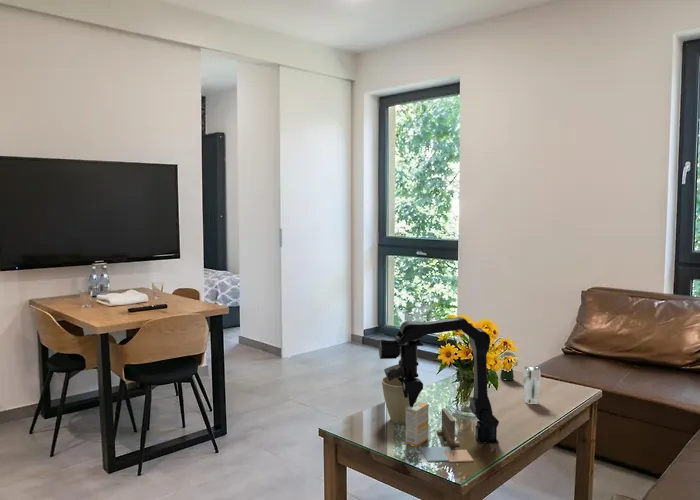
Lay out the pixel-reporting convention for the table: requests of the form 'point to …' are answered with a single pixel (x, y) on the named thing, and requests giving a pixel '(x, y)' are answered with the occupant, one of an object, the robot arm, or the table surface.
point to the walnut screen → (448, 429)
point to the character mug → (509, 374)
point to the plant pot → (395, 400)
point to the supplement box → (417, 423)
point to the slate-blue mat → (436, 453)
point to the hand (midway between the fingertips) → (408, 402)
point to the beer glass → (531, 383)
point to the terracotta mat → (459, 456)
